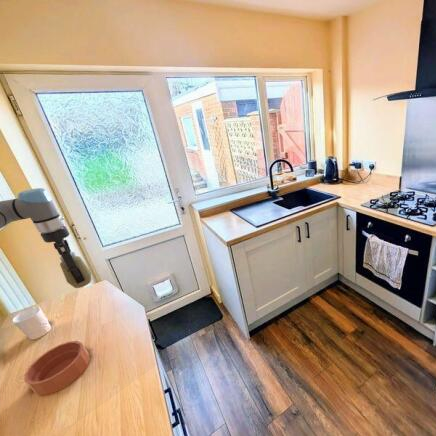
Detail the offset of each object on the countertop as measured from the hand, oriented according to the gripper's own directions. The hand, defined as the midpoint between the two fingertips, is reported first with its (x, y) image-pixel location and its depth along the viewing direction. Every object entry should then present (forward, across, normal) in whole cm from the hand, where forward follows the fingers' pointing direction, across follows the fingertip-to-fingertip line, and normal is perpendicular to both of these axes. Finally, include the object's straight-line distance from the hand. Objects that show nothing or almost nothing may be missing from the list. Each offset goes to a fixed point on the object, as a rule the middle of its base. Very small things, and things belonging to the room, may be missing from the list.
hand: (79, 277), depth 102 cm
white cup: (+17, +2, +19) cm, 25 cm away
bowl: (+16, -29, +14) cm, 36 cm away
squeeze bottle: (+3, 0, 0) cm, 3 cm away
